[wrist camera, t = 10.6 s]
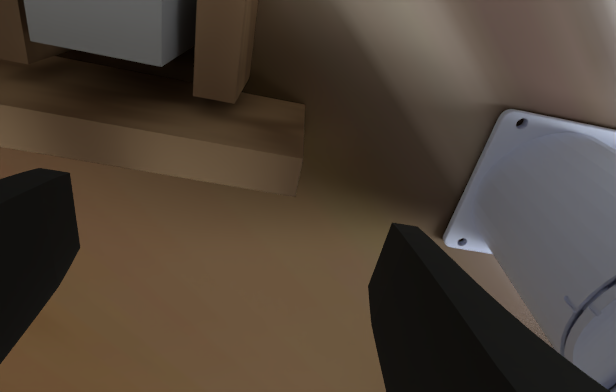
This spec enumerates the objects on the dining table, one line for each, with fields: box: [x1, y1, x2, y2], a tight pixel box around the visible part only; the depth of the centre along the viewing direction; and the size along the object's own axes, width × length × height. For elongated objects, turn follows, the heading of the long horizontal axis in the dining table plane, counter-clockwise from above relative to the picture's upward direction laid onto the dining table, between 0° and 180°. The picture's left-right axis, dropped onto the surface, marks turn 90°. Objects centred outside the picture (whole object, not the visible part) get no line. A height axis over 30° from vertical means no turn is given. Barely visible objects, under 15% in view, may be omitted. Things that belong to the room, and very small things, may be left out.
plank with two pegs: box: [0, 0, 305, 197], centre depth 14 cm, size 14×6×6 cm, turn 79°
